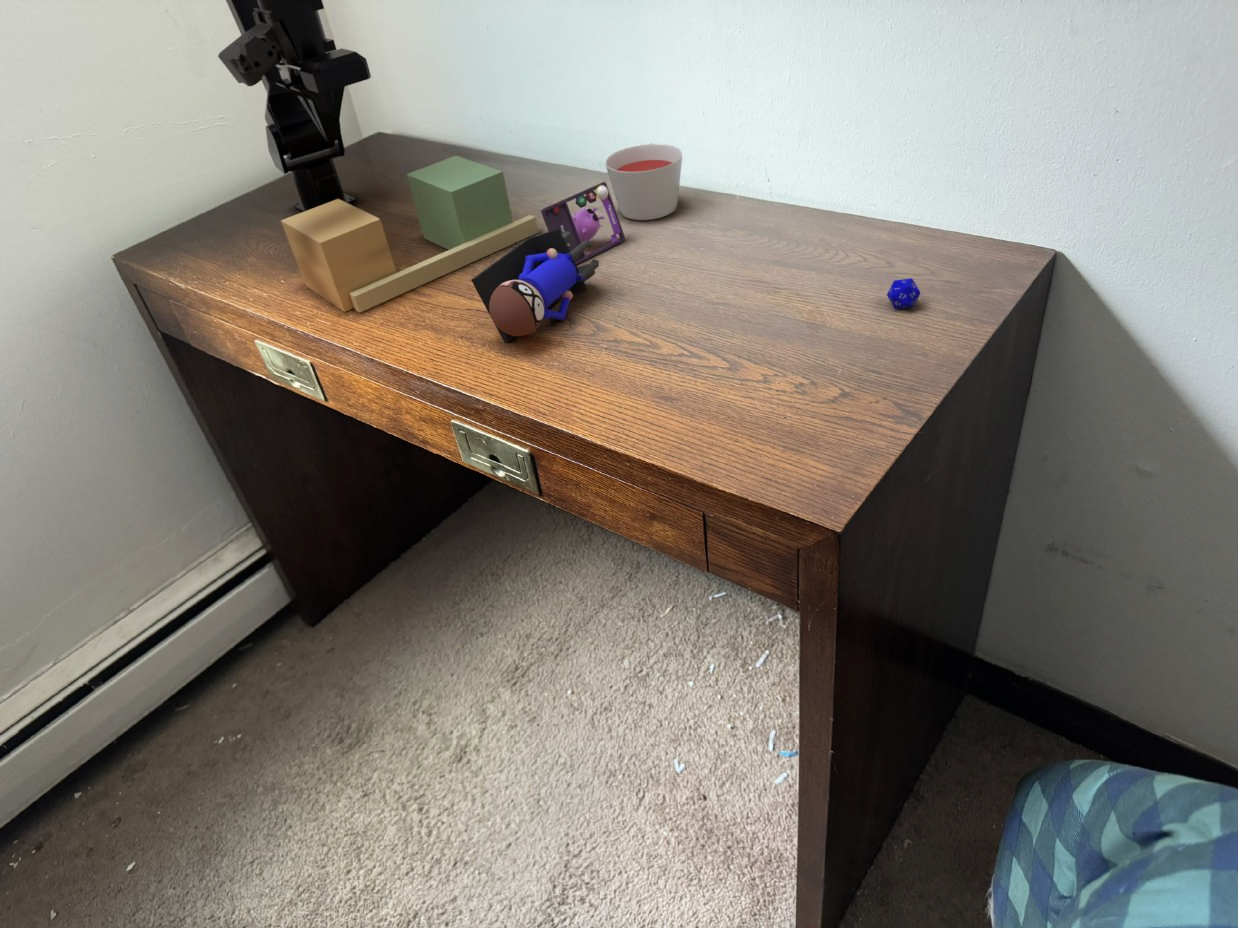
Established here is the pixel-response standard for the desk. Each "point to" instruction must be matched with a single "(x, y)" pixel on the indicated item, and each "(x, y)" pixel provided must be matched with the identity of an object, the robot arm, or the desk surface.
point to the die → (903, 293)
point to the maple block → (339, 250)
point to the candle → (646, 180)
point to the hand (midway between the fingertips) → (331, 141)
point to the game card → (583, 219)
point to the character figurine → (533, 282)
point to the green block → (459, 201)
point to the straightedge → (442, 264)
